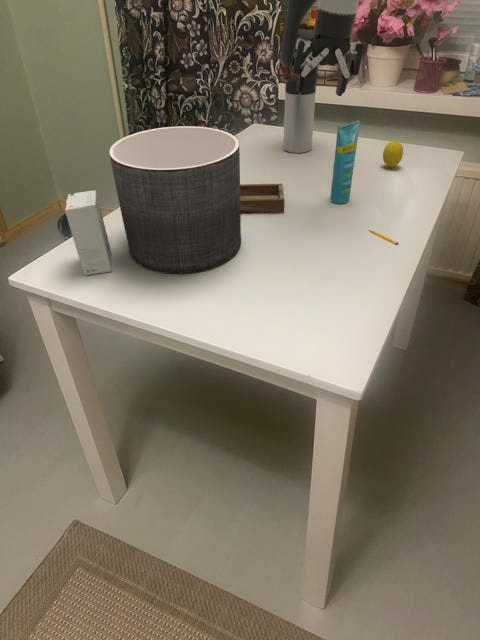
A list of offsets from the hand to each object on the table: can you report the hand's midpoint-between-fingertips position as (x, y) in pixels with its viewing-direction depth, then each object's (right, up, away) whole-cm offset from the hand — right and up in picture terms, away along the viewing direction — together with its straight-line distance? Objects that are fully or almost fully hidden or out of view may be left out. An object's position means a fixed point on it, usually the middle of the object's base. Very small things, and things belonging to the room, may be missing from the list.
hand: (319, 94), depth 102 cm
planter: (-30, -32, +5) cm, 44 cm away
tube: (+9, -18, +21) cm, 29 cm away
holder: (-12, -19, +19) cm, 30 cm away
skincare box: (-48, -37, -1) cm, 60 cm away
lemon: (+27, -4, +37) cm, 46 cm away
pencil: (+15, -31, +5) cm, 34 cm away
